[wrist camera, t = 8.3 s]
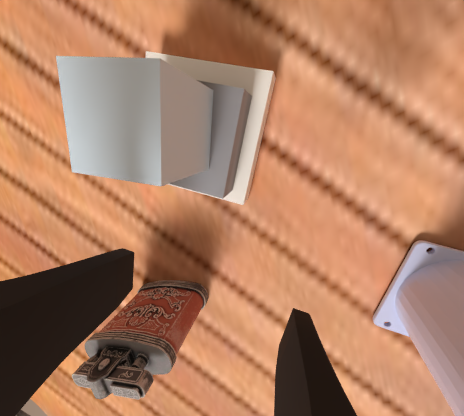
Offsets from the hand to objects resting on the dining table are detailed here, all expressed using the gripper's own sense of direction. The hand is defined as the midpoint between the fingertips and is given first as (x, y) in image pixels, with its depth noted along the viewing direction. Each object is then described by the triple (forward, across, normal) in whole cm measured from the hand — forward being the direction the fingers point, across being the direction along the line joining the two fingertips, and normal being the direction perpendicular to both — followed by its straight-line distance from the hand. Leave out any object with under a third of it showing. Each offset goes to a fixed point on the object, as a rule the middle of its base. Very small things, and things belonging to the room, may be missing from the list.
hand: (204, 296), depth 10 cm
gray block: (+6, +5, -6) cm, 10 cm away
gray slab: (+9, +5, -6) cm, 11 cm away
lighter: (+11, +6, +11) cm, 16 cm away
